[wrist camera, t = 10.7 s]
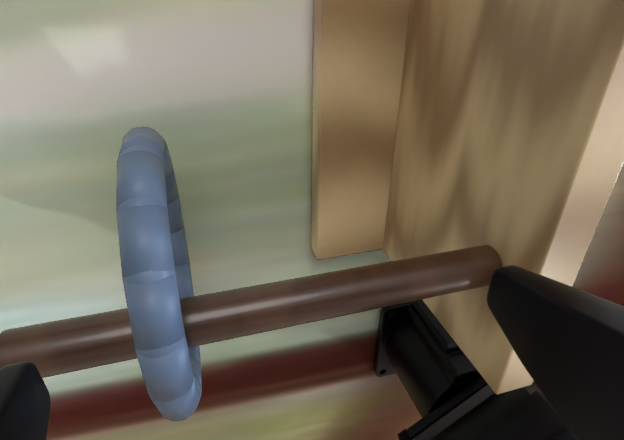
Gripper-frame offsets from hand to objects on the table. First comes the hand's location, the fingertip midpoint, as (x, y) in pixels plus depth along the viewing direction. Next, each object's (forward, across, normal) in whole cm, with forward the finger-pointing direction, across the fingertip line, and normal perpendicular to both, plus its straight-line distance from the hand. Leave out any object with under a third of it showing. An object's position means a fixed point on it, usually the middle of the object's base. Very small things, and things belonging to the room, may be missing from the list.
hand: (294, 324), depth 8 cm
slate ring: (+6, +3, +3) cm, 8 cm away
